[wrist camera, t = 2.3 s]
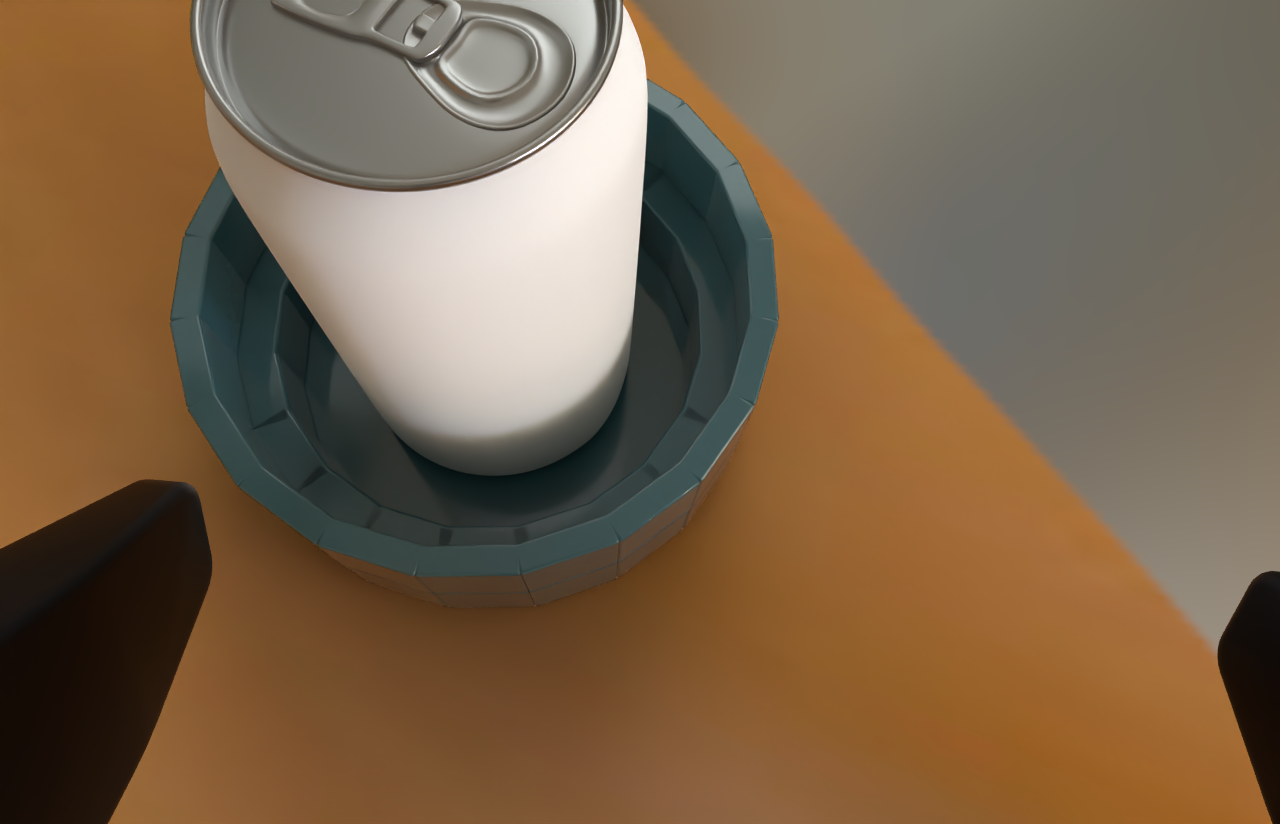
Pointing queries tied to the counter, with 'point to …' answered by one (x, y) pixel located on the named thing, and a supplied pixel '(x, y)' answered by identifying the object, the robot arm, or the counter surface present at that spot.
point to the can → (446, 202)
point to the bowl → (479, 504)
